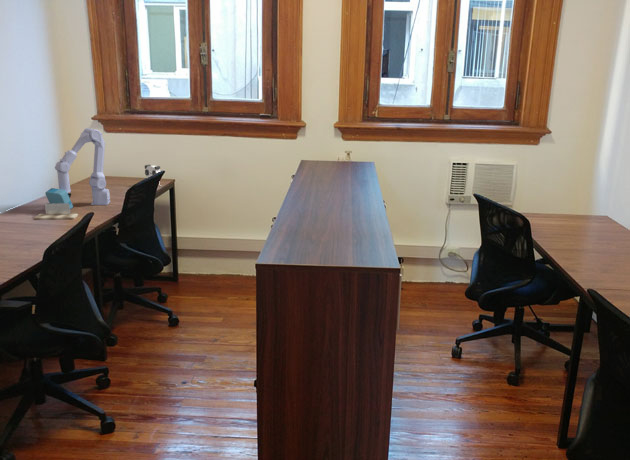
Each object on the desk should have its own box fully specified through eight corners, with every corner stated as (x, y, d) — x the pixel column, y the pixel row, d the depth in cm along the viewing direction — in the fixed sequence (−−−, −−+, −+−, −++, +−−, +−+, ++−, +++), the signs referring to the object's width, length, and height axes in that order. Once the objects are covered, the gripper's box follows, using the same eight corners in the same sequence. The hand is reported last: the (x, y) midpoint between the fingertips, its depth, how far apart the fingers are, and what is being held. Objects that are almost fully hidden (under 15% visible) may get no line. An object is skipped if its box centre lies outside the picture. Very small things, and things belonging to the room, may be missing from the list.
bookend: (78, 215, 304) (76, 202, 302) (73, 219, 297) (72, 206, 295) (39, 215, 302) (37, 203, 300) (34, 219, 294) (32, 206, 292)
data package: (74, 208, 313) (66, 189, 306) (68, 212, 310) (60, 194, 303) (58, 205, 318) (50, 187, 311) (52, 209, 314) (44, 191, 308)
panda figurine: (141, 187, 375) (139, 165, 371) (154, 184, 384) (153, 163, 380) (153, 190, 369) (152, 167, 365) (166, 187, 378) (165, 165, 374)
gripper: (60, 180, 319) (63, 203, 323) (52, 185, 305) (55, 209, 309) (73, 180, 320) (75, 203, 324) (65, 185, 306) (68, 209, 310)
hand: (66, 206), depth 317 cm, fingers closed
